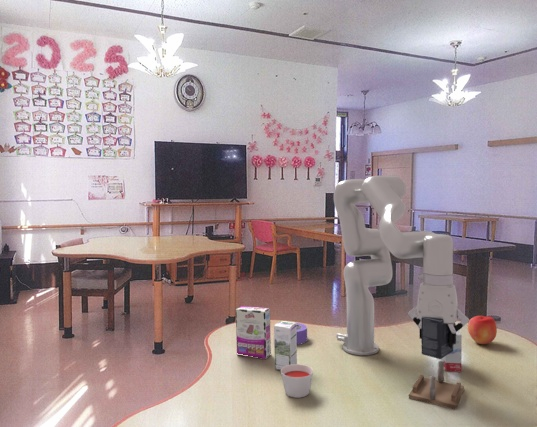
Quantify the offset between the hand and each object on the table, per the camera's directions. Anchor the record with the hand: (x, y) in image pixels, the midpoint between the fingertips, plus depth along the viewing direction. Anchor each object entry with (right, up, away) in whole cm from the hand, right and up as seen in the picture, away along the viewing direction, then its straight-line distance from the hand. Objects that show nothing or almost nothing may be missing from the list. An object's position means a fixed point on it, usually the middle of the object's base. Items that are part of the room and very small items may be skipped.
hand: (437, 343), depth 123 cm
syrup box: (-41, -14, +20) cm, 48 cm away
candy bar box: (-52, -13, +31) cm, 62 cm away
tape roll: (-38, -12, +46) cm, 61 cm away
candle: (-38, -15, +3) cm, 41 cm away
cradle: (0, -14, +1) cm, 14 cm away
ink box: (+12, -13, +19) cm, 26 cm away
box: (0, -3, 0) cm, 3 cm away
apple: (+31, -11, +39) cm, 51 cm away
